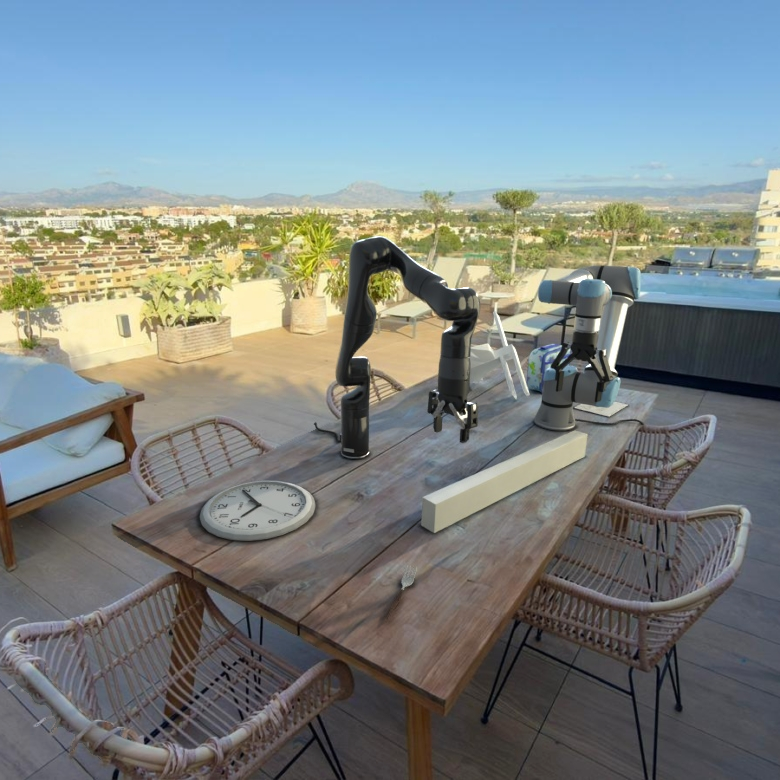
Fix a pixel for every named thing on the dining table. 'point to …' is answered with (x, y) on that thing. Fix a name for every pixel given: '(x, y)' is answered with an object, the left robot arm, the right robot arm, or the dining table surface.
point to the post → (500, 481)
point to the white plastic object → (496, 361)
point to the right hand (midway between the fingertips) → (577, 395)
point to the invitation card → (602, 408)
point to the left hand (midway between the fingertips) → (450, 436)
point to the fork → (405, 582)
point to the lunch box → (542, 364)
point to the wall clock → (257, 510)
